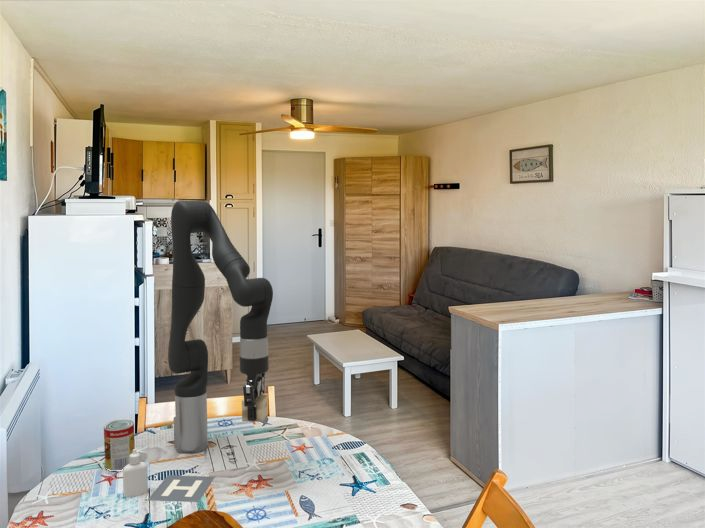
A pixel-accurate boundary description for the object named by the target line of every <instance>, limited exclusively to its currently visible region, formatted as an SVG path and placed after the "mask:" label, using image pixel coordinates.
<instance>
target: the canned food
mask: <svg viewBox="0 0 705 528" xmlns="http://www.w3.org/2000/svg"><path fill="white" fill-rule="evenodd" d="M103 438H104V440H103V442H104V445H103V446H104V464H105V465H104V468H105V467H106V468H107V469H110V470H122V469H123V468H124V467H125V466H126V465H128V464H130V454H132V453H133V449H136V448H135V447H136V446H135V422H134V421H133V420H131V419H125V418H124V419H116V420H112V421H109V422H106V423H105V424H104V425H103Z"/></svg>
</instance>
